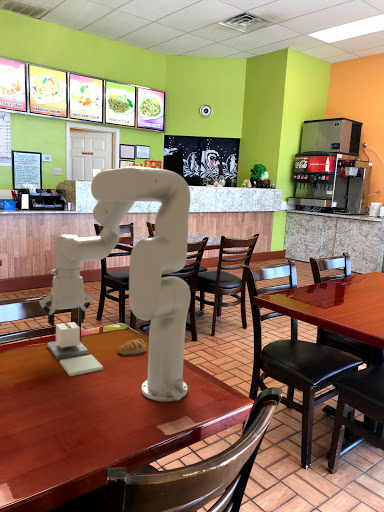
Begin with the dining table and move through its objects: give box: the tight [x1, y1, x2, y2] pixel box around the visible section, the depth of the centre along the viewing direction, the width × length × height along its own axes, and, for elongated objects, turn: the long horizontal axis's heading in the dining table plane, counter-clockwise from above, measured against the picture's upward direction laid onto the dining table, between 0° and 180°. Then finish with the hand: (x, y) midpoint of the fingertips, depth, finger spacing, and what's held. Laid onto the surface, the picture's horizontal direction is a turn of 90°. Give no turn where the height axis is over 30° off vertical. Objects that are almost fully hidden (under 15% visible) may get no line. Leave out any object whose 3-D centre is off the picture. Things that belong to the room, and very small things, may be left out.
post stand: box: [47, 340, 89, 360], centre depth 135 cm, size 12×10×8 cm
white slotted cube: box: [55, 321, 81, 348], centre depth 135 cm, size 6×6×6 cm
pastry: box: [116, 338, 147, 356], centre depth 138 cm, size 9×7×4 cm
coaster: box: [59, 354, 104, 377], centre depth 124 cm, size 10×10×1 cm
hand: (66, 323), depth 134 cm, fingers open, 9 cm apart
